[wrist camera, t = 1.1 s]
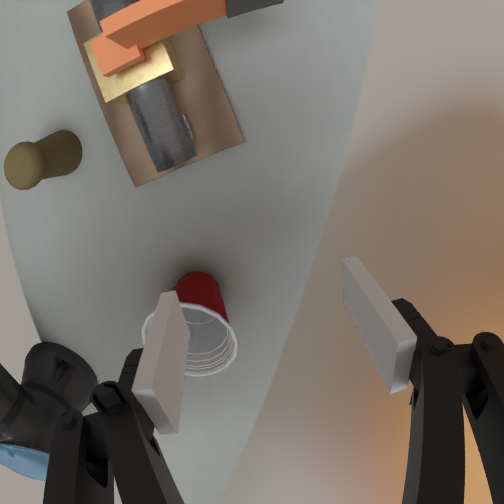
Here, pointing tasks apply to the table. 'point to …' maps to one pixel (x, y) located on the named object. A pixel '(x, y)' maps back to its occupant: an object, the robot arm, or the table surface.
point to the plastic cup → (203, 325)
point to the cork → (42, 159)
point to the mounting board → (185, 93)
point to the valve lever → (157, 26)
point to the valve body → (148, 94)
